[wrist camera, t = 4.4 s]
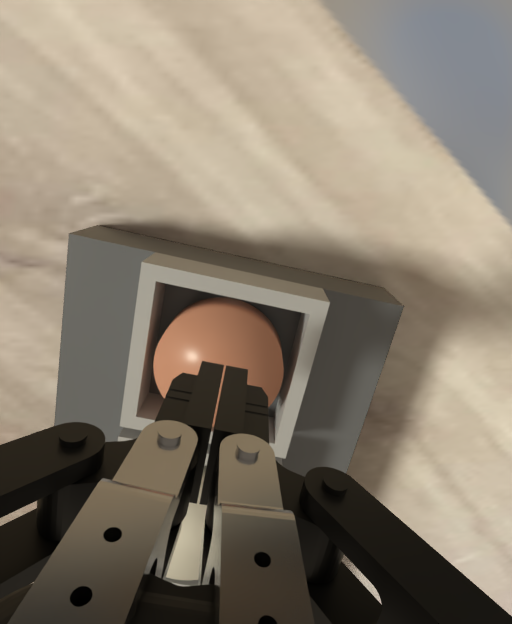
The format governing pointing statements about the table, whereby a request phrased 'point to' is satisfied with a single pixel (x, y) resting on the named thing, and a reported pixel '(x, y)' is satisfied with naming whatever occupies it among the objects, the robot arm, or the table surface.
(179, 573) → the cream button
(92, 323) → the button panel
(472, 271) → the table surface
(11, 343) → the table surface
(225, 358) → the terracotta button
